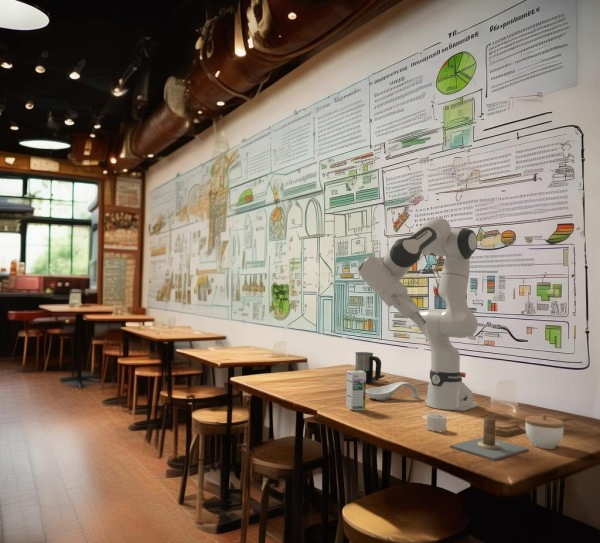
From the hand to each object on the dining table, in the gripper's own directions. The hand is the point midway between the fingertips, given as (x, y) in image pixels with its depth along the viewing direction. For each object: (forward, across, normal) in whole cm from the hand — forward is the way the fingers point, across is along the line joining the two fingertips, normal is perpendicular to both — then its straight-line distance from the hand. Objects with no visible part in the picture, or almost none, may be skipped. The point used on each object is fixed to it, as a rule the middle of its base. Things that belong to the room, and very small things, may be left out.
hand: (423, 324), depth 176 cm
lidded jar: (+50, -6, -1) cm, 51 cm away
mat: (+39, -17, +9) cm, 43 cm away
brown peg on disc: (+38, -17, +9) cm, 43 cm away
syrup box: (+6, +17, +43) cm, 47 cm away
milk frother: (+1, +84, +49) cm, 97 cm away
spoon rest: (+13, +45, +37) cm, 59 cm away
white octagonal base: (+28, -1, +21) cm, 35 cm away
